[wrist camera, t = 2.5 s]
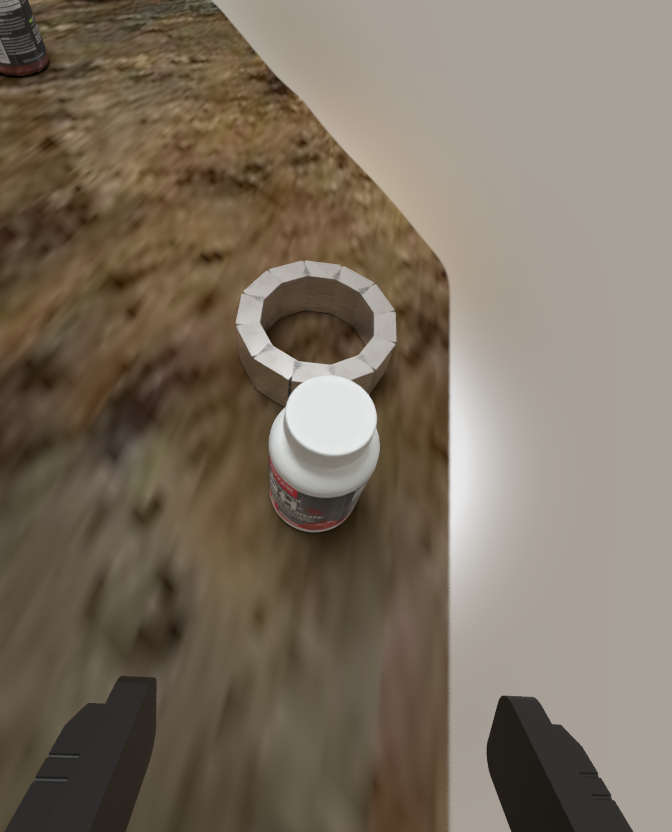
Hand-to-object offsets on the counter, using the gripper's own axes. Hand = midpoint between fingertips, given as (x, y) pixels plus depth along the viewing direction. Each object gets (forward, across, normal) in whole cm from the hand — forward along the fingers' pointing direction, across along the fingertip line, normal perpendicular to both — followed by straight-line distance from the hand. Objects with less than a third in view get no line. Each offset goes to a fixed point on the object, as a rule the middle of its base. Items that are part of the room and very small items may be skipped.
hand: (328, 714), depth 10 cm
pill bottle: (+17, 0, +2) cm, 17 cm away
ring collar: (+25, +1, -5) cm, 25 cm away
